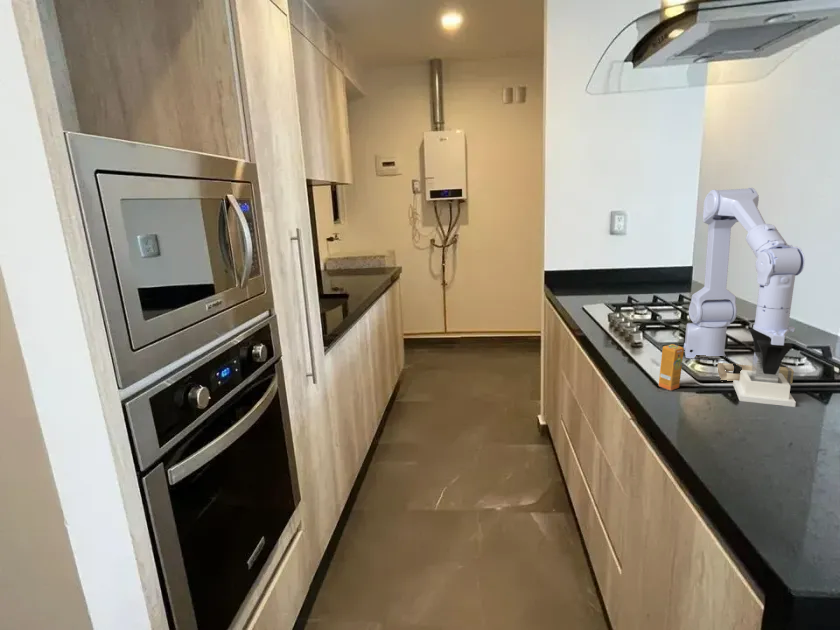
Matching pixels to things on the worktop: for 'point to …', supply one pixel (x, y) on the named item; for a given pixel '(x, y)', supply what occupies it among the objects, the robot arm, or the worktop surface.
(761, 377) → the steel peg
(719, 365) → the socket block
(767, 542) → the worktop surface
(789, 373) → the tan rectangular block
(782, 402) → the white square socket
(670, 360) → the supplement box
